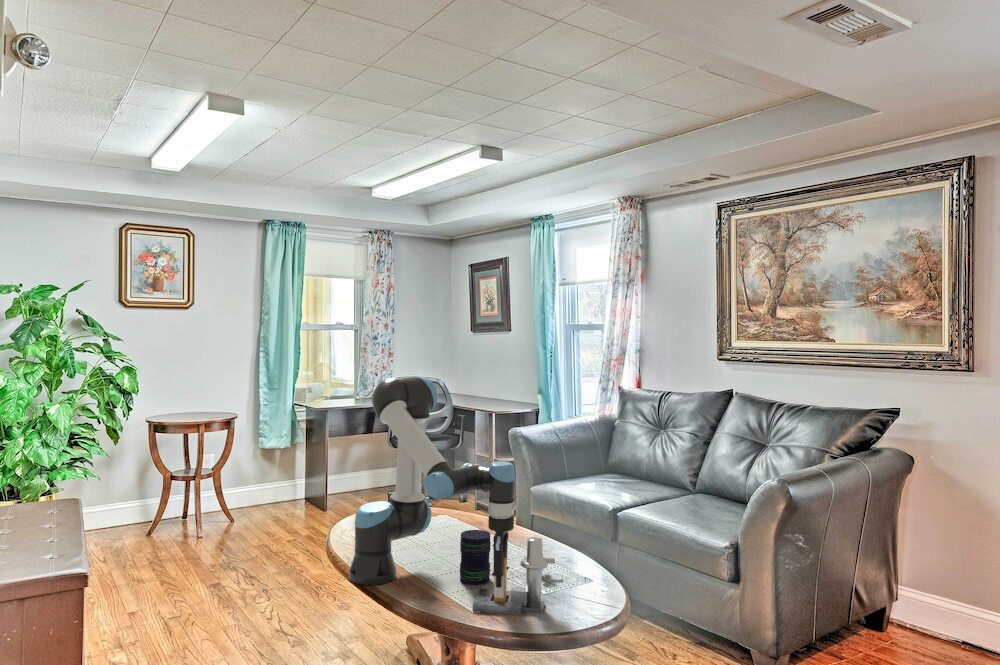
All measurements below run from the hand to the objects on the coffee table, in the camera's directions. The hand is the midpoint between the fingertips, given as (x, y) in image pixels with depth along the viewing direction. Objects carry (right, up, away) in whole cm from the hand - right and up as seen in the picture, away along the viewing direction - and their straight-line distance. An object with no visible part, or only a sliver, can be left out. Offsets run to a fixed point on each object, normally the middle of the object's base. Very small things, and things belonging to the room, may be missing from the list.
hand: (500, 594), depth 206 cm
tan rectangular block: (0, -2, 0) cm, 2 cm away
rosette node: (+3, -3, 0) cm, 5 cm away
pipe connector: (+13, -3, +25) cm, 29 cm away
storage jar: (-8, -3, +20) cm, 21 cm away
